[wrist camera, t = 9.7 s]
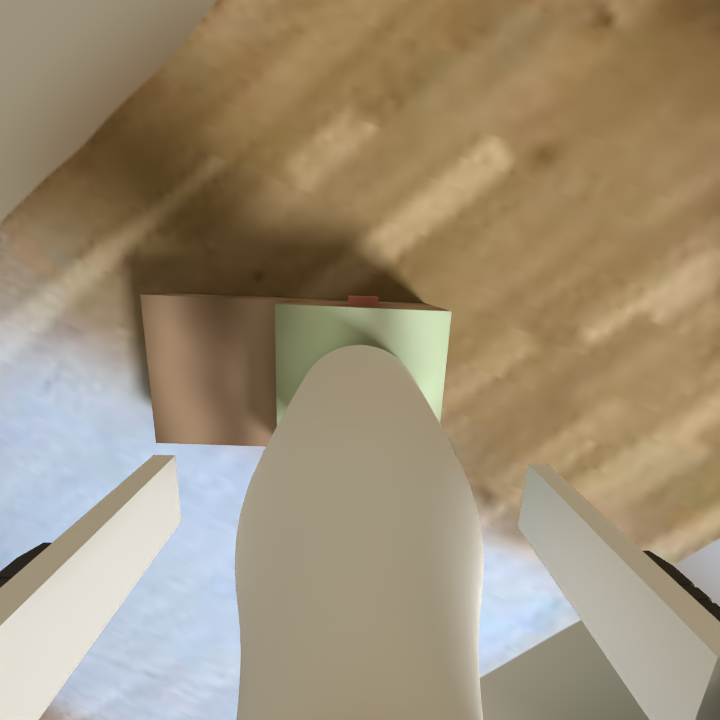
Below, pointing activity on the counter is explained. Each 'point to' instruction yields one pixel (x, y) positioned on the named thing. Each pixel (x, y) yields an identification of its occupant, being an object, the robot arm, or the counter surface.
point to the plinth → (269, 356)
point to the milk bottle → (359, 556)
